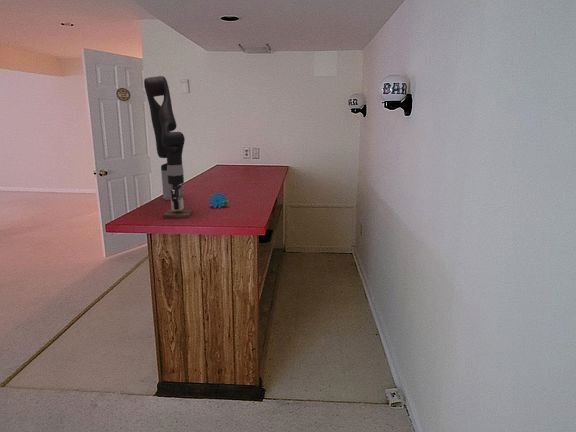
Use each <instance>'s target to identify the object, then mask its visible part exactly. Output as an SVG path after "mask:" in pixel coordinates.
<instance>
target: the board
mask: <svg viewBox="0 0 576 432" xmlns="http://www.w3.org/2000/svg"><path fill="white" fill-rule="evenodd" d="M192 214H193V209H191V208H190V209H187V208H185V209H184V208H183V210H172V209H168V210H166V212H165V213H164V214H163V215H162V217H163V218H162V219H189V218H190V216H192Z"/></svg>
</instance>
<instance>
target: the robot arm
mask: <svg viewBox="0 0 576 432" xmlns="http://www.w3.org/2000/svg"><path fill="white" fill-rule="evenodd" d="M143 85H144V90H145V94H146V98H147V102H148V106H149V111H150V119H151V123H152V128H153V132H154V136H155V137H154V138H155V145H156V153H157V155H158V157H159V158H161V159H166V163H163V164H161V165H160V168H161V169H160V173H161V181H162V182H161V184H162V196H163V197H162V198H163V200H165V201H171V200H172V202H174V209H175V210H178V209H179V198H182V197H183V194H182V193H183V192H182V187H183V186H182V184H184V183H185V176H184V167H183V149H184V146H185V145H184V144H185V140H186V139H185V138H186V137H185V134H183V132H182V131H175V130H176V129H177V127H178V126H177V122H176V118H175V115H174V111H173V107H172V99H171V95H170V94H171V93H170V89H169V83H168V81H167V78H166V77H165V76H164V75H163V76H162V75H159V76H158V75H157V76H152V77H145V78H144V81H143ZM161 96H163V100H162V103H161V104H159V103H158V101H157V100H156V99H155V97H161ZM175 198H176V199H175Z"/></svg>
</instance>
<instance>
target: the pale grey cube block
mask: <svg viewBox="0 0 576 432" xmlns="http://www.w3.org/2000/svg"><path fill="white" fill-rule="evenodd" d="M175 199H176V198H175ZM184 203H185V202H184V198H182V197H181V198H179V209H178V210H184V208H185V207H184V206H185V205H184ZM170 207H171V209H170V210H175V209H174V202H172V200H170Z"/></svg>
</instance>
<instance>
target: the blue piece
mask: <svg viewBox="0 0 576 432" xmlns="http://www.w3.org/2000/svg"><path fill="white" fill-rule="evenodd" d="M207 199H208V202H207V203H208V205H210V207H211V208H212V207H213V209H217V207H218V209H221V208H222V207H228V204H229V203H230V201H229V200H228V198H227V196H225V194H224V193H223V194H222V193H221V192H218V193H217V192H214V195H213V194H210V197H209V198H207Z"/></svg>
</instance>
